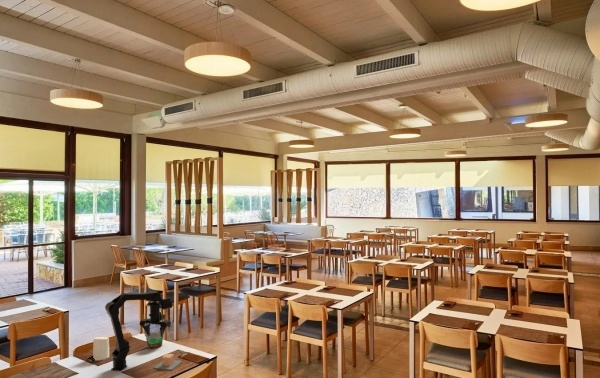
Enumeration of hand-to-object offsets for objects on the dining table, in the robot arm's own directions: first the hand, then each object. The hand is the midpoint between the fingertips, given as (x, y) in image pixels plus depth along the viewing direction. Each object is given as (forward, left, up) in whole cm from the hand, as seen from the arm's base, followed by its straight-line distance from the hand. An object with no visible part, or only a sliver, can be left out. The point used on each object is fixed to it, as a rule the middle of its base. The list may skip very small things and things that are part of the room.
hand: (155, 336), depth 252 cm
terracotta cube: (+14, -8, -12) cm, 20 cm away
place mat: (+14, -8, -13) cm, 21 cm away
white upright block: (-34, -7, -13) cm, 37 cm away
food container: (-10, +14, -13) cm, 22 cm away
